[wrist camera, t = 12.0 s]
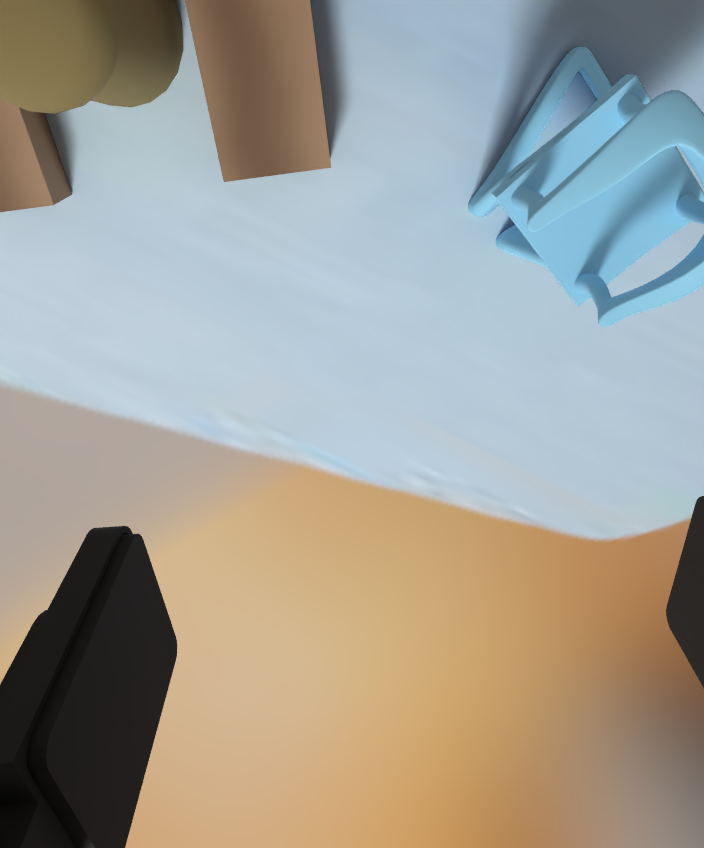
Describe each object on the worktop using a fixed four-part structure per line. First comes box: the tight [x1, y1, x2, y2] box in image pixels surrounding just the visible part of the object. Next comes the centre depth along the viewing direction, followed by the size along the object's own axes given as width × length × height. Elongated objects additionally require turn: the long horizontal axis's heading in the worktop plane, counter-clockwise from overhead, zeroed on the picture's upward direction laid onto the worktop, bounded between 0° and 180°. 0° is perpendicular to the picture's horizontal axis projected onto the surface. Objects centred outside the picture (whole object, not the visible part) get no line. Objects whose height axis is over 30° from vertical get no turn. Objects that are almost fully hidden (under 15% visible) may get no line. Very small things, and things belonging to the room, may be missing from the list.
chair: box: [468, 46, 704, 327], centre depth 26 cm, size 8×8×12 cm
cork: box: [0, 0, 183, 114], centre depth 22 cm, size 6×6×11 cm
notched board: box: [0, 0, 331, 212], centre depth 26 cm, size 18×14×2 cm
